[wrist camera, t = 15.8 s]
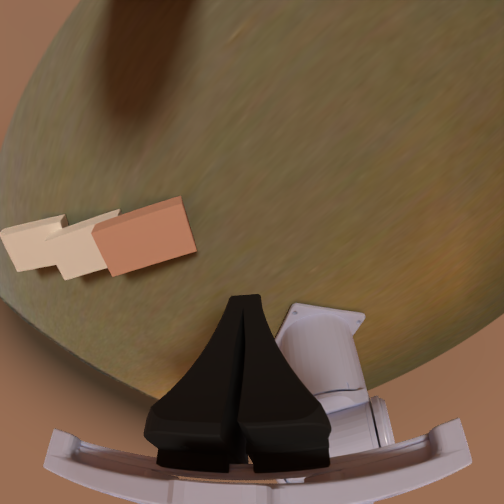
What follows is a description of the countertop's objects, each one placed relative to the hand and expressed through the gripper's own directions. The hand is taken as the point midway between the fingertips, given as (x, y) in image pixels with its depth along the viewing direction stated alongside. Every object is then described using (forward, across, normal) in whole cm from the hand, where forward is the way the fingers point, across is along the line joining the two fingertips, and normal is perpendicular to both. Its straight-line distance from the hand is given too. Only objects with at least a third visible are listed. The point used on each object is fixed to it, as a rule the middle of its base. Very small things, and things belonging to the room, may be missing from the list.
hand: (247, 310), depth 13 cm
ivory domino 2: (+9, +10, 0) cm, 13 cm away
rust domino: (+9, +4, 0) cm, 10 cm away
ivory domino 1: (+9, +16, 0) cm, 18 cm away
